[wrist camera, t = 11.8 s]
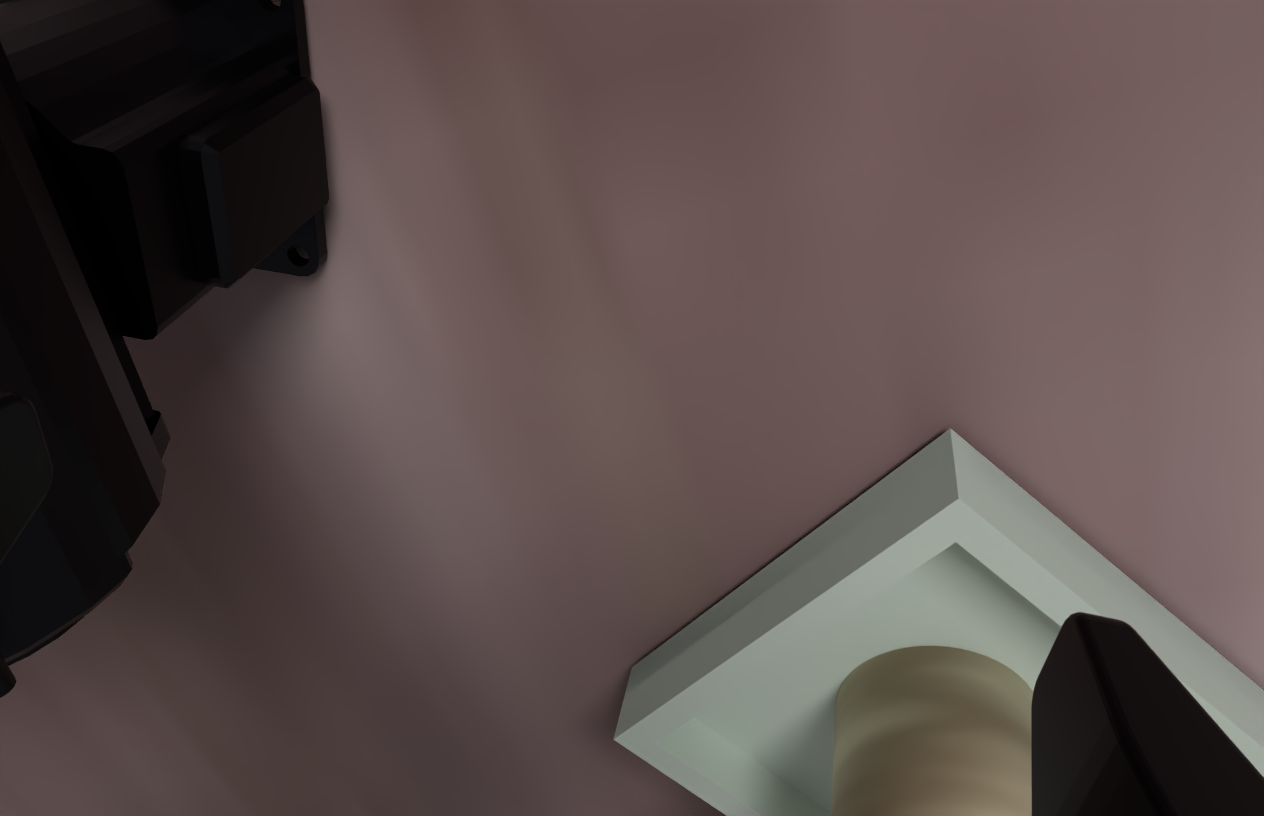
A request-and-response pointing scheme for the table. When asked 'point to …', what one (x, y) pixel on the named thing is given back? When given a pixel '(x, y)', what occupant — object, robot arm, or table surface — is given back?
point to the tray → (889, 631)
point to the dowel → (932, 737)
